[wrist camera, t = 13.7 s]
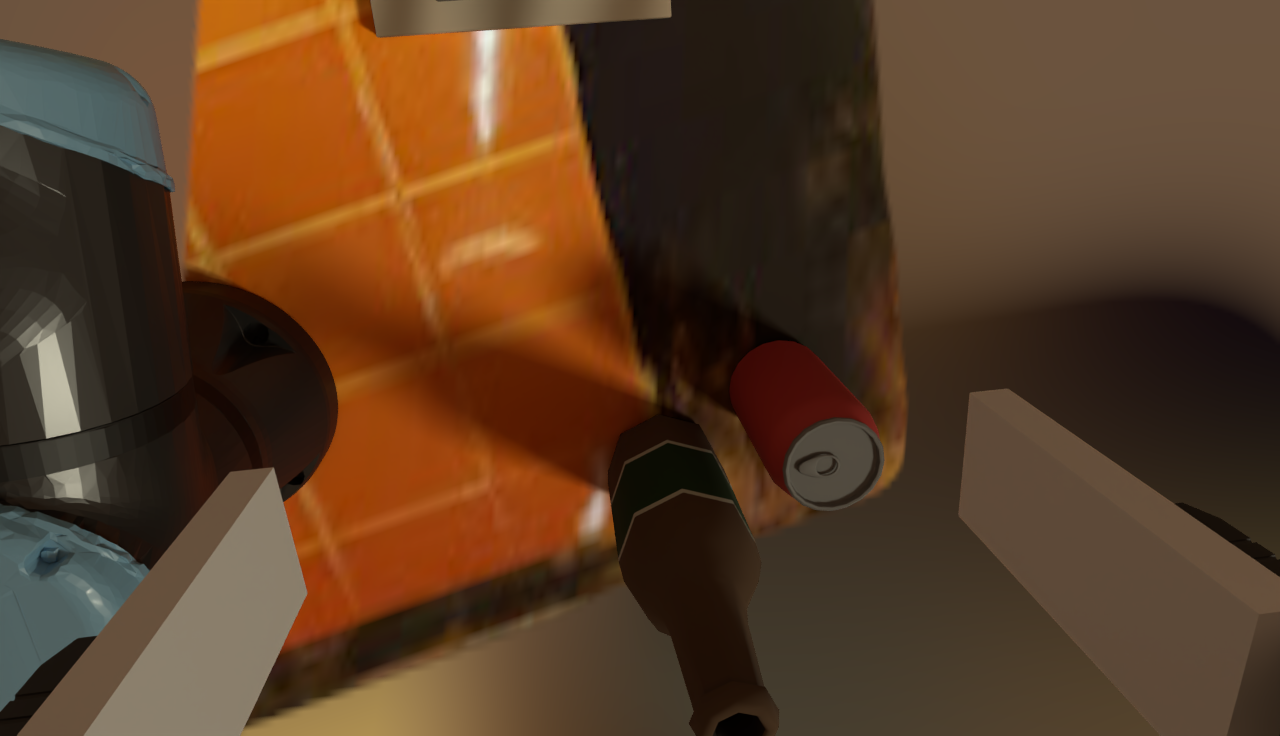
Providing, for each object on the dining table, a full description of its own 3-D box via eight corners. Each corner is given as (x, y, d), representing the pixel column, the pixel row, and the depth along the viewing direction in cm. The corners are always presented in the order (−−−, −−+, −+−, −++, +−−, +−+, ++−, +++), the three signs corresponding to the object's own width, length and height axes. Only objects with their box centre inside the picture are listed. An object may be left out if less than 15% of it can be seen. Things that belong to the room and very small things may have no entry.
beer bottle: (600, 417, 52) (636, 674, 30) (714, 403, 53) (833, 646, 30) (611, 517, 55) (652, 820, 33) (720, 503, 56) (832, 792, 33)
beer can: (726, 341, 51) (775, 415, 40) (824, 333, 52) (898, 404, 41) (727, 431, 54) (773, 525, 42) (820, 423, 54) (890, 514, 43)
